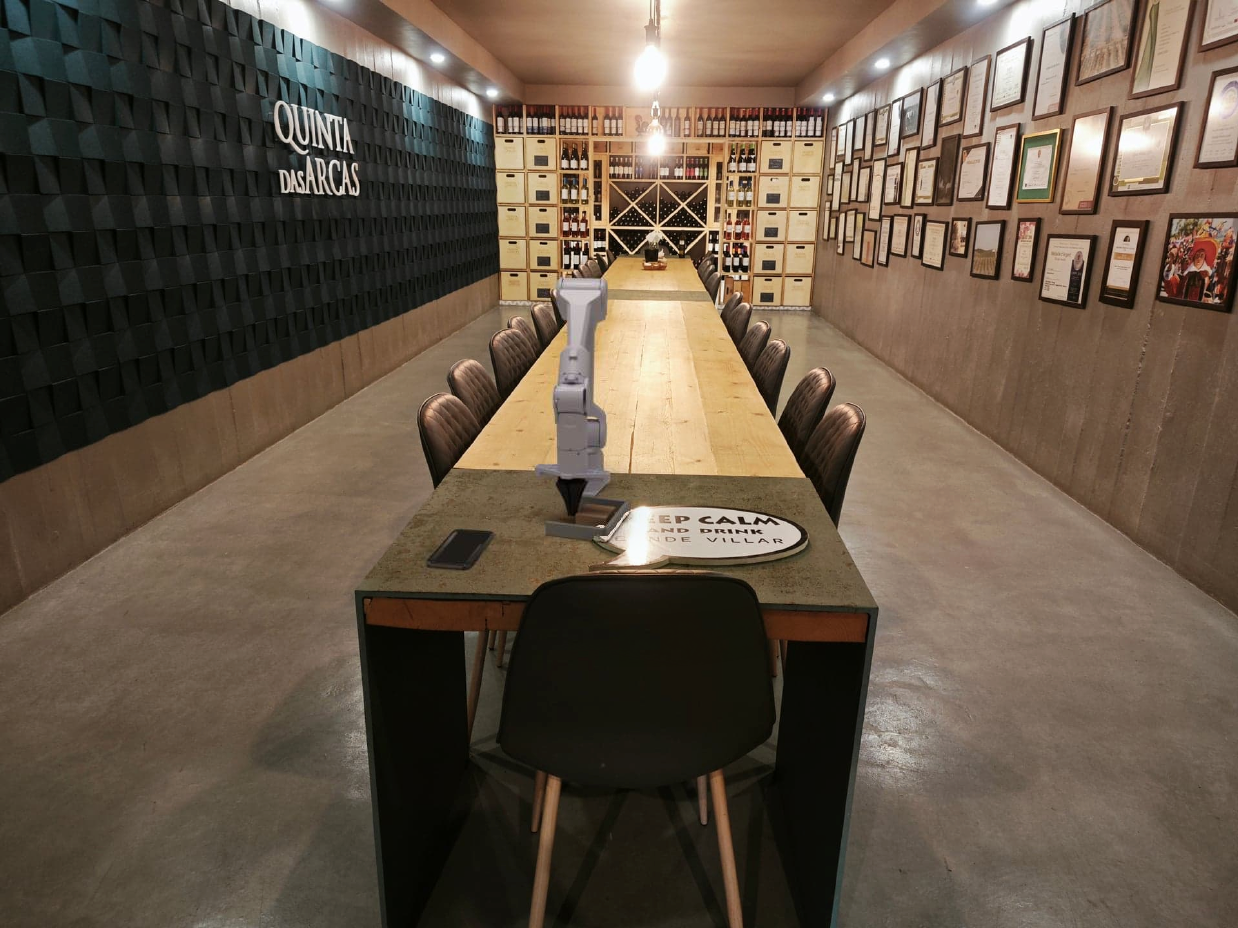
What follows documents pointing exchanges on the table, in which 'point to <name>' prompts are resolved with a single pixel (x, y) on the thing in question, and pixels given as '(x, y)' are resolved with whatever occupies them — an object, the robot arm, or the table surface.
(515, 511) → the table surface
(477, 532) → the phone
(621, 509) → the grey u-shaped rail
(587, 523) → the walnut tile
